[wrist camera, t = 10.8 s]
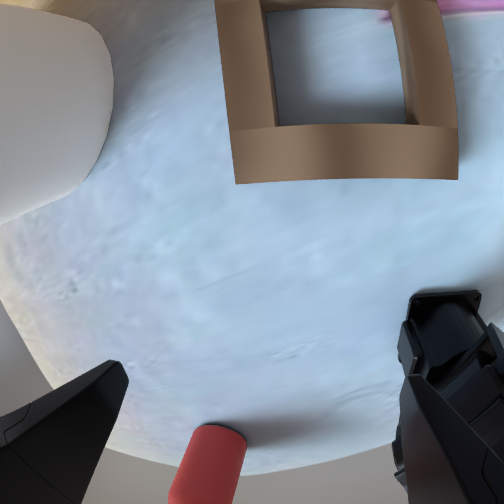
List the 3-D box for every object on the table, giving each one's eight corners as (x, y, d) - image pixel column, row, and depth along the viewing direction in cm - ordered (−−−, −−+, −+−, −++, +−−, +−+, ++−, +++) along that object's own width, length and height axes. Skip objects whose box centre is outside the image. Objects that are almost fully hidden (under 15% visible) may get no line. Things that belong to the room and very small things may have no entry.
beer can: (192, 416, 30) (155, 502, 20) (248, 428, 29) (222, 521, 19) (198, 443, 33) (168, 518, 22) (247, 453, 32) (226, 533, 21)
